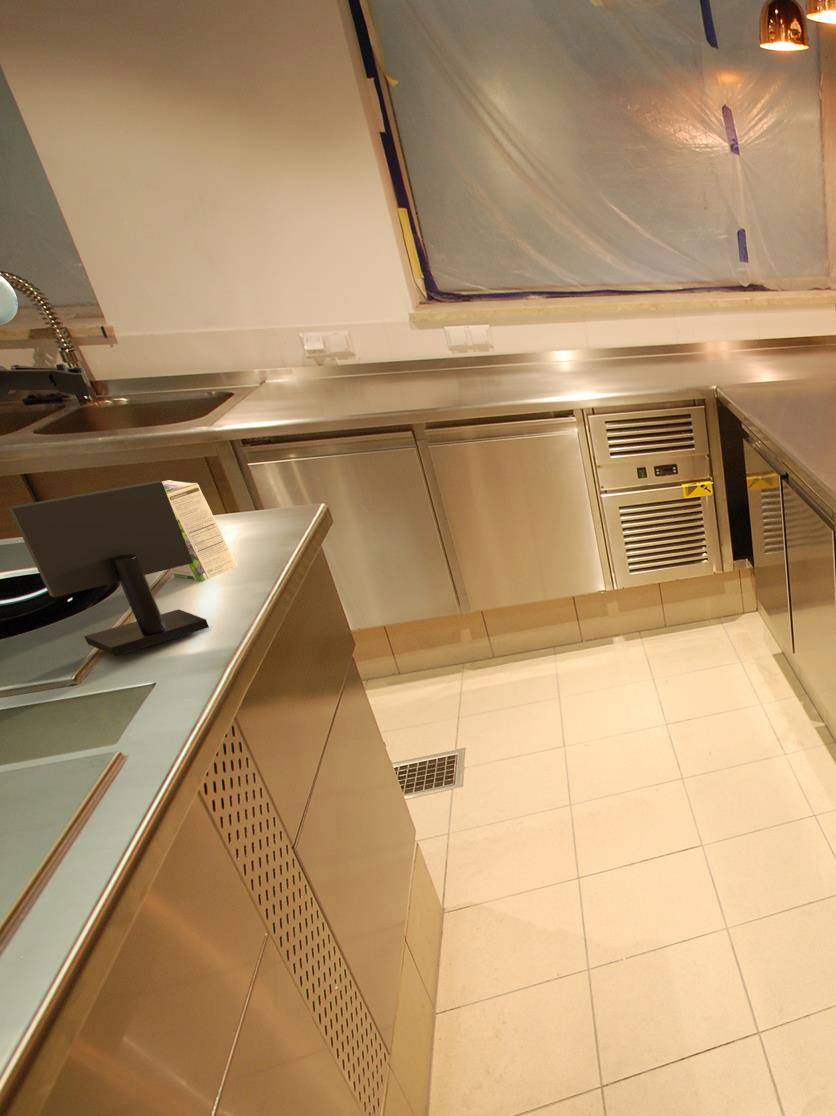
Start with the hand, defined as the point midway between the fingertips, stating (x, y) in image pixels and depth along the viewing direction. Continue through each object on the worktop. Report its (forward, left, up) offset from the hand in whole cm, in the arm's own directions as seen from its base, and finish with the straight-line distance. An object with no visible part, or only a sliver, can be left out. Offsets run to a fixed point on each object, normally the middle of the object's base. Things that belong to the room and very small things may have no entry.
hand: (8, 392), depth 101 cm
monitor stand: (+5, -9, -30) cm, 32 cm away
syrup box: (+9, +13, -30) cm, 34 cm away
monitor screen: (+5, -9, -22) cm, 24 cm away
